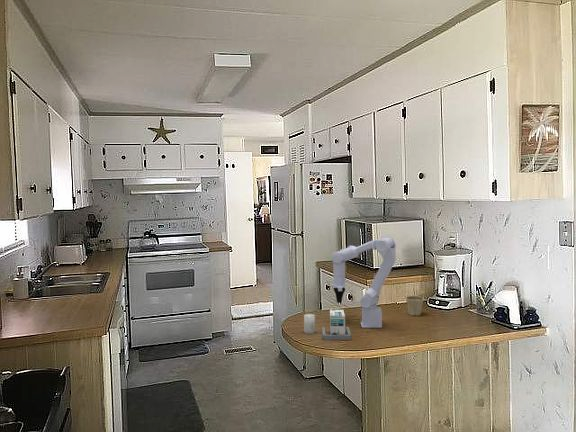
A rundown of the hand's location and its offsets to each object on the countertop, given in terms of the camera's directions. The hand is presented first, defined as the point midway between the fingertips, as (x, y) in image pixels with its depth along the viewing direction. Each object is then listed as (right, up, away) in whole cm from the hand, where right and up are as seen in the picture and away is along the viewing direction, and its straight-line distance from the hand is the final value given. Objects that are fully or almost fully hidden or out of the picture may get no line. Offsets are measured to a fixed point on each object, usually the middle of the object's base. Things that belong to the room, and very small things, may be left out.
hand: (339, 302), depth 252 cm
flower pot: (+40, -8, +11) cm, 43 cm away
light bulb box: (-3, -12, -22) cm, 25 cm away
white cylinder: (-16, -11, -17) cm, 25 cm away
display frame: (-4, -11, -22) cm, 25 cm away
